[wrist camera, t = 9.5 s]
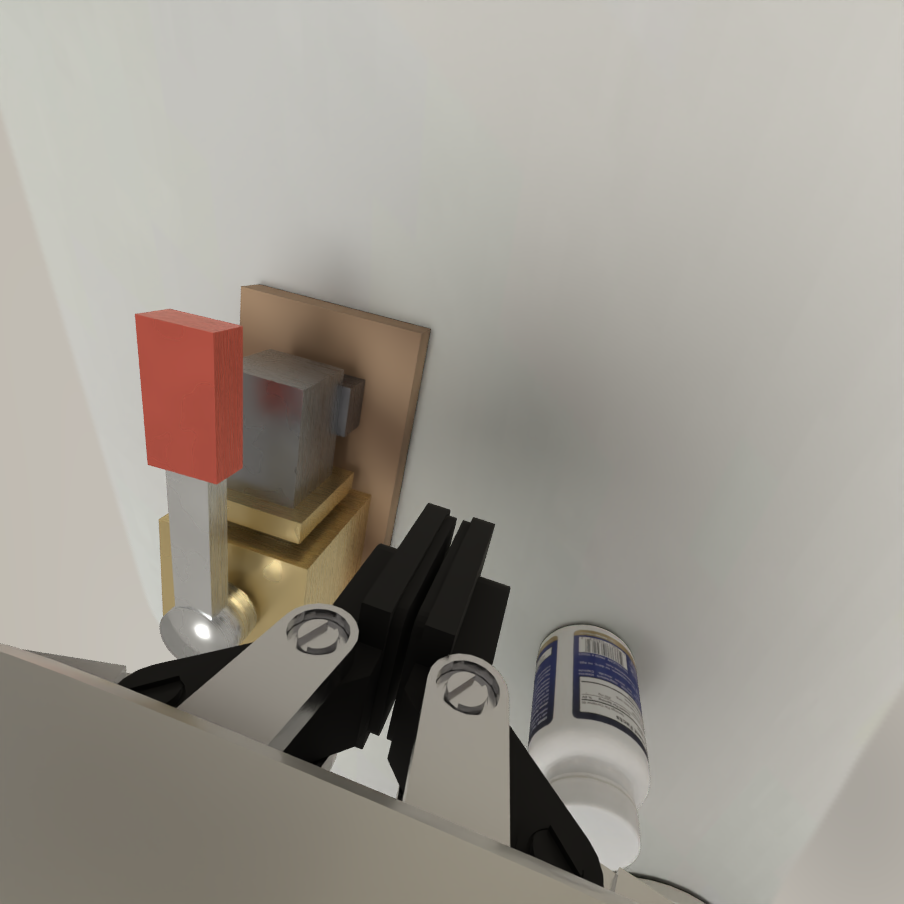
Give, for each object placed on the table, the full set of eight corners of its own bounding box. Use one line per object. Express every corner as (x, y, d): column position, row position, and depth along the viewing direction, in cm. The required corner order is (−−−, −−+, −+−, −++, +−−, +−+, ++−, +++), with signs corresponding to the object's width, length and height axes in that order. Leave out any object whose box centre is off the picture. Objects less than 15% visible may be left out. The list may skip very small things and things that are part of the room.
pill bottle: (563, 704, 30) (555, 890, 22) (521, 635, 29) (495, 802, 20) (651, 683, 28) (683, 880, 20) (610, 609, 27) (624, 782, 18)
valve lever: (256, 644, 22) (225, 682, 20) (195, 624, 22) (160, 659, 21) (261, 324, 16) (219, 334, 14) (180, 305, 17) (129, 312, 15)
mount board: (364, 683, 34) (355, 701, 32) (243, 639, 35) (230, 655, 34) (430, 328, 24) (421, 333, 22) (259, 284, 25) (241, 286, 24)
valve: (342, 673, 32) (285, 775, 26) (246, 638, 33) (168, 728, 26) (391, 370, 23) (324, 413, 17) (260, 334, 24) (151, 362, 18)
